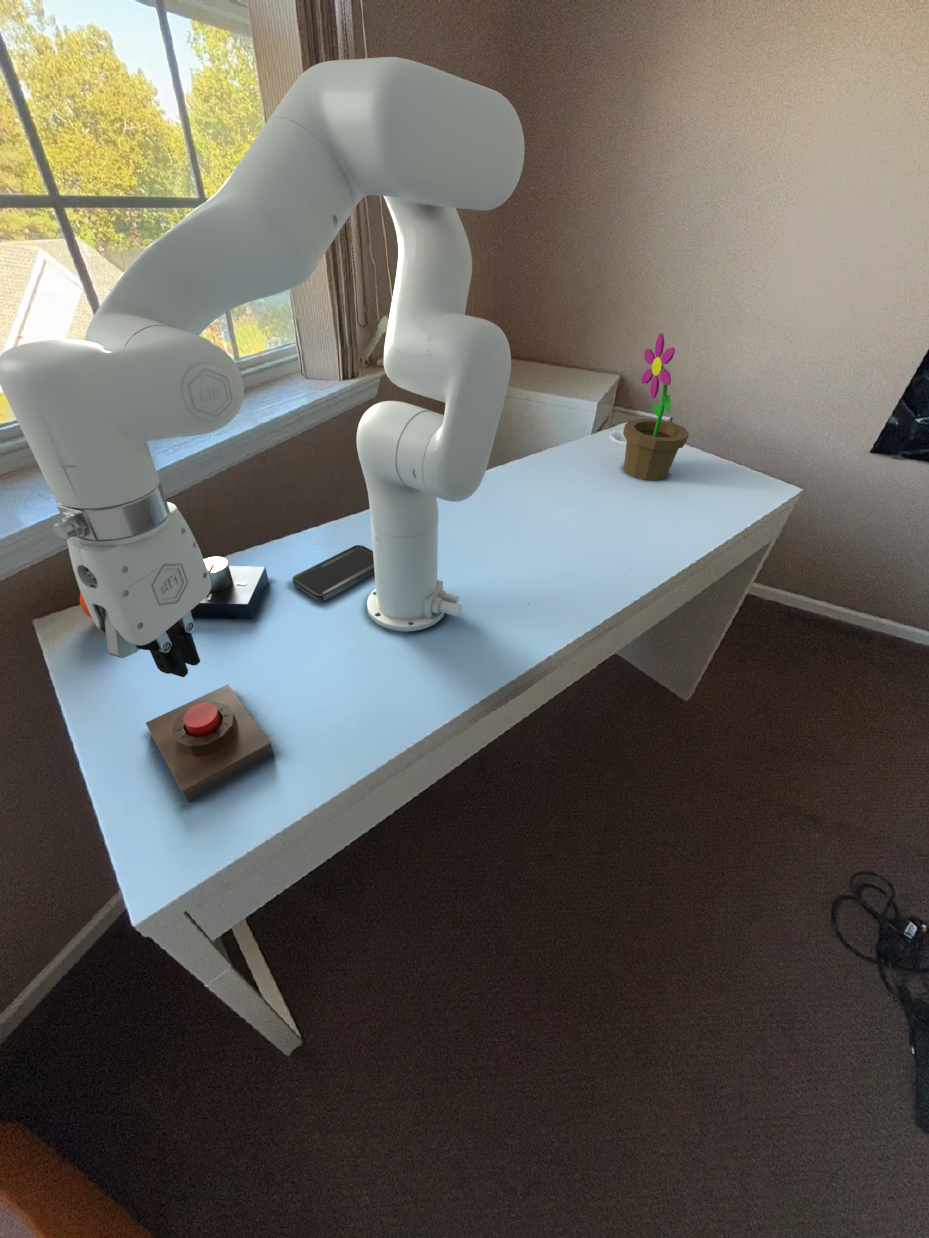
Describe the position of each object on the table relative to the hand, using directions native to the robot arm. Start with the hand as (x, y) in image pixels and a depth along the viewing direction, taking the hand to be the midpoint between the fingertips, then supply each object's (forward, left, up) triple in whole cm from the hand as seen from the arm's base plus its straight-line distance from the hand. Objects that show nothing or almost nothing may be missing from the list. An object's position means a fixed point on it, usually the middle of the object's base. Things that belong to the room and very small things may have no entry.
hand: (180, 665), depth 57 cm
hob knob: (+17, -24, -10) cm, 31 cm away
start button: (0, 0, -10) cm, 10 cm away
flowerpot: (-43, -103, -13) cm, 112 cm away
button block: (0, 0, -13) cm, 13 cm away
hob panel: (+17, -24, -13) cm, 32 cm away
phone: (+3, -37, -13) cm, 39 cm away
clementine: (+28, -14, -13) cm, 34 cm away
